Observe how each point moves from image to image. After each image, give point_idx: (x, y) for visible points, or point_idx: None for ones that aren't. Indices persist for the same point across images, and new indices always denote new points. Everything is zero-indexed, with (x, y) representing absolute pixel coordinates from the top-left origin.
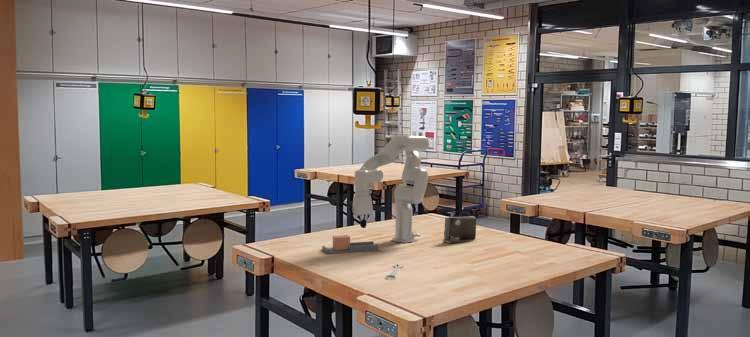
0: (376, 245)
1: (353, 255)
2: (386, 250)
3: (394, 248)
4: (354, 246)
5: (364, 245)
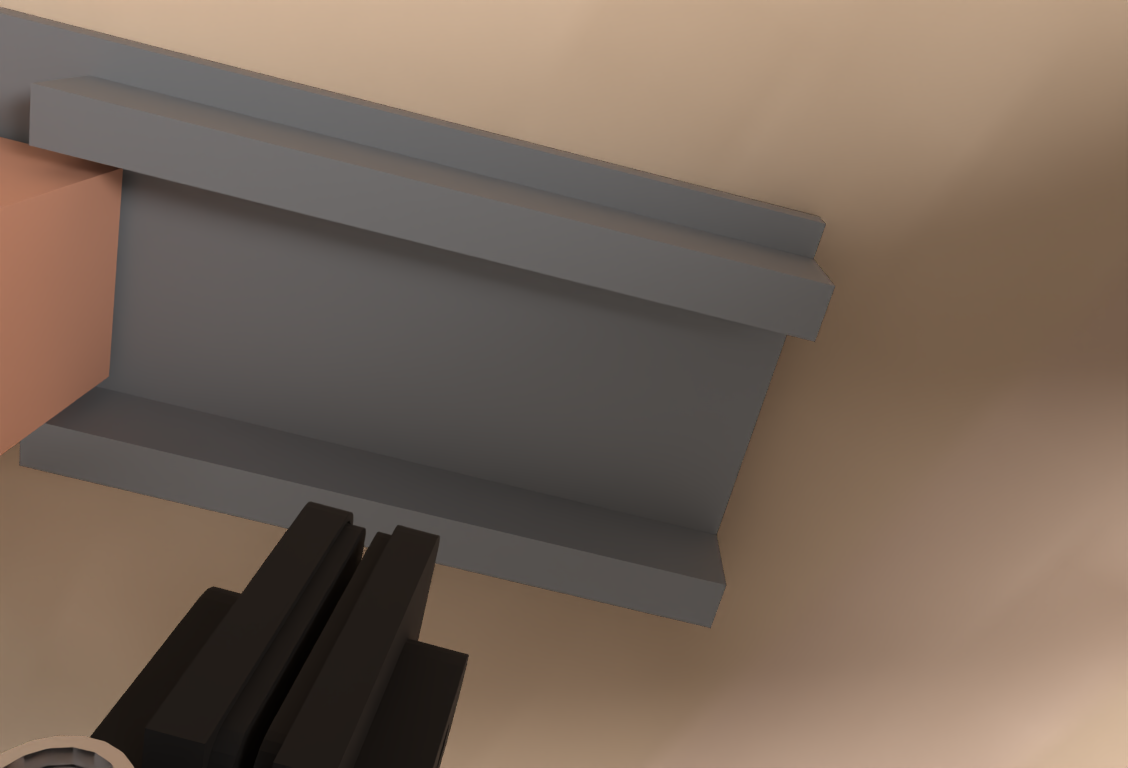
0: (666, 608)
1: (76, 639)
2: (828, 642)
3: (1082, 596)
4: (148, 490)
5: None
